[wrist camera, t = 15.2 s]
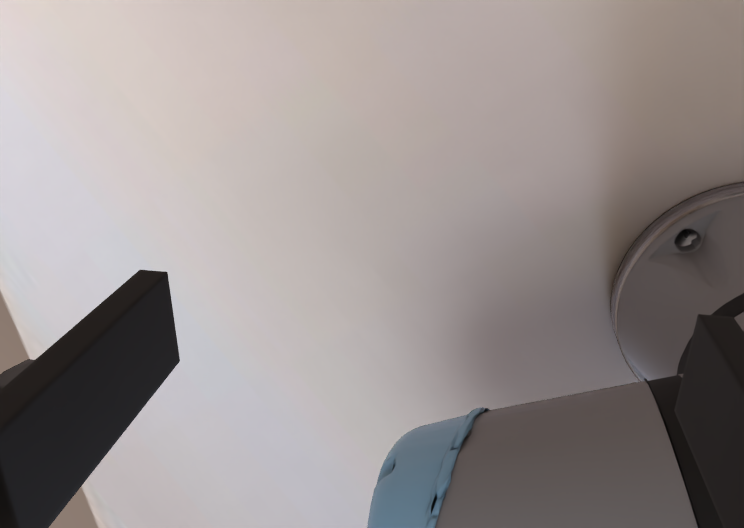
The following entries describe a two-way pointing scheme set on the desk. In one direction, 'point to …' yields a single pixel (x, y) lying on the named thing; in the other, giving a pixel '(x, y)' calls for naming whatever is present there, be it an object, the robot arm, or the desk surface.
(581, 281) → the desk surface
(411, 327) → the desk surface
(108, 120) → the desk surface
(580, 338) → the desk surface
